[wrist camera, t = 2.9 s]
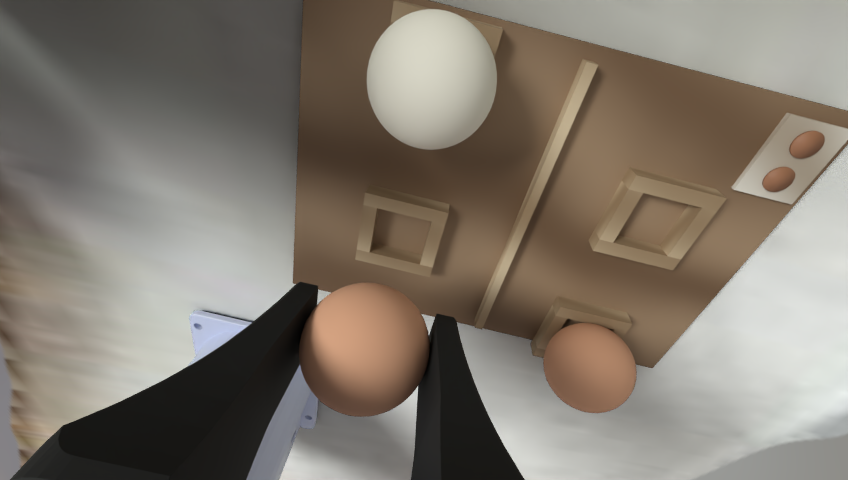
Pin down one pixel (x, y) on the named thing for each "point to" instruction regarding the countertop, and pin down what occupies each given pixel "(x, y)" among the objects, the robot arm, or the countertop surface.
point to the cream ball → (431, 79)
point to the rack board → (547, 183)
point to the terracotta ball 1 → (364, 349)
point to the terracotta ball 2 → (589, 367)
